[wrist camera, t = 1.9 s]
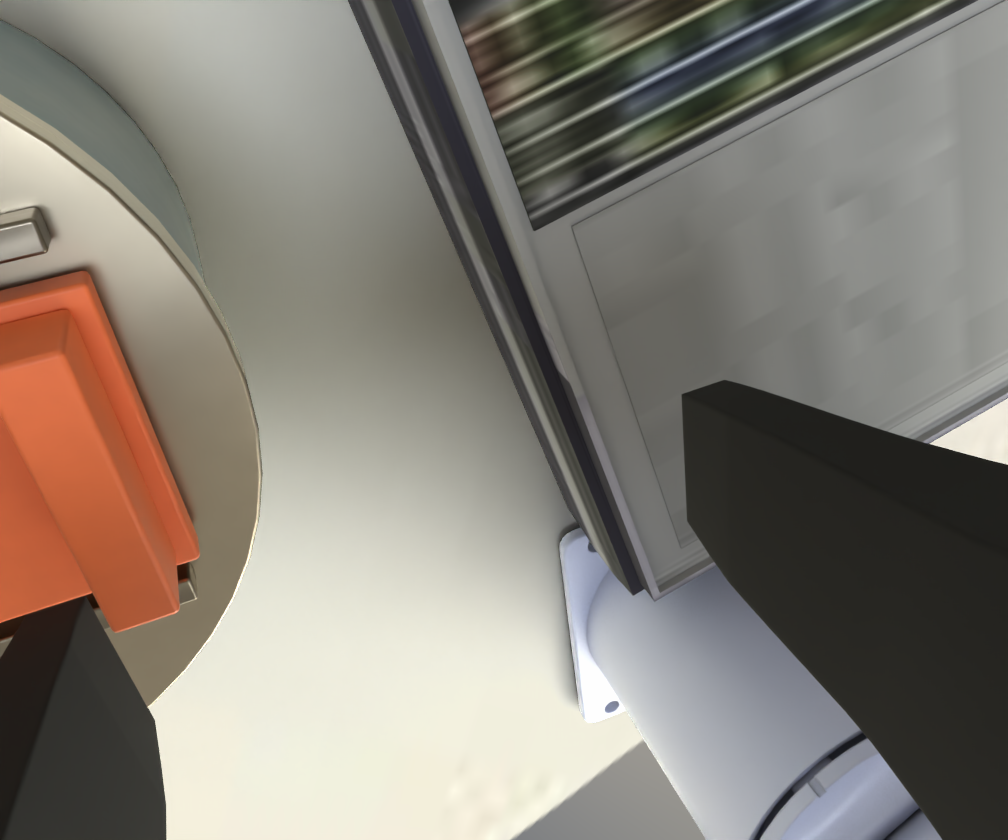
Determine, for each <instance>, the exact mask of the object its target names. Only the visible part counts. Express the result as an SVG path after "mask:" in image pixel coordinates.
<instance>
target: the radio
mask: <svg viewBox="0 0 1008 840" xmlns="http://www.w3.org/2000/svg"><path fill="white" fill-rule="evenodd" d="M348 2H349V4H350V6H351V9H352V11H353V13H354V16H355V18H356V20H357V22H358V25H359V27H360V29H361V32H362V34H363V36H364V39H365V41H366V43H367V46H368V48H369V50H370V52H371V55H372V57H373V59H374V62H375V64H376V66H377V69H378V71H379V73H380V76H381V78H382V80H383V82H384V85H385V87H386V89H387V92H388V94H389V96H390V99H391V101H392V103H393V105H394V108H395V110H396V112H397V115H398V117H399V119H400V122H401V124H402V126H403V129H404V131H405V133H406V135H407V138H408V140H409V142H410V145H411V147H412V149H413V152H414V154H415V156H416V159H417V161H418V163H419V165H420V168H421V170H422V172H423V175H424V177H425V179H426V182H427V184H428V186H429V188H430V191H431V193H432V195H433V198H434V200H435V202H436V205H437V207H438V209H439V212H440V214H441V216H442V218H443V221H444V223H445V225H446V228H447V230H448V232H449V235H450V237H451V239H452V242H453V244H454V246H455V248H456V251H457V253H458V255H459V258H460V260H461V262H462V265H463V267H464V269H465V272H466V274H467V276H468V278H469V281H470V283H471V285H472V288H473V290H474V292H475V295H476V297H477V299H478V301H479V304H480V306H481V308H482V311H483V313H484V315H485V318H486V320H487V322H488V325H489V327H490V329H491V331H492V334H493V336H494V338H495V341H496V343H497V345H498V348H499V350H500V352H501V355H502V357H503V359H504V361H505V364H506V366H507V368H508V371H509V373H510V375H511V378H512V380H513V382H514V385H515V387H516V389H517V391H518V394H519V396H520V398H521V401H522V403H523V405H524V408H525V410H526V412H527V414H528V417H529V419H530V421H531V424H532V426H533V428H534V431H535V433H536V435H537V438H538V440H539V442H540V444H541V447H542V449H543V451H544V454H545V456H546V458H547V461H548V463H549V465H550V468H551V470H552V472H553V474H554V477H555V479H556V481H557V484H558V486H559V488H560V491H561V493H562V495H563V498H564V500H565V502H566V504H567V507H568V508H569V510H570V512H571V513H572V515H573V516H574V518H575V519H576V521H577V522H578V524H579V525H580V527H581V529H582V530H583V532H584V533H585V535H586V536H587V538H588V539H589V541H590V542H591V544H592V545H593V547H594V548H595V550H596V551H597V552H598V554H599V555H600V556H601V558H602V559H603V560H604V562H605V563H606V565H607V566H608V567H609V569H610V570H611V571H612V573H613V574H614V575H615V576H616V578H617V579H618V580H619V581H620V582H621V583H622V584H623V585H624V586H625V588H626V589H627V590H628V591H629V592H630V593H631V594H632V595H633V596H634V595H635V594H637V593H639V592H641V591H642V590H644V589H645V590H646V591H647V593H648V594H649V595H650V597H651V598H652V599H653V601H654V602H655V601H657V600H659V599H660V598H662V597H664V596H666V595H667V594H669V593H671V592H673V591H674V590H676V589H678V588H680V587H681V586H683V585H685V584H686V583H688V582H690V581H692V580H693V579H695V578H697V577H699V576H700V575H702V574H704V573H706V572H707V571H709V570H711V569H712V568H714V567H716V566H717V565H716V564H715V562H714V561H713V559H712V558H711V557H710V555H709V554H708V552H707V551H706V549H705V548H704V546H703V545H702V543H701V542H700V540H699V538H698V537H697V535H696V534H695V532H694V531H693V529H692V528H691V526H690V525H689V523H688V522H687V510H686V487H685V464H684V441H683V418H682V395H681V394H684V393H686V392H689V391H692V390H695V389H698V388H701V387H704V386H707V385H710V384H713V383H716V382H719V381H722V380H728V381H732V382H736V383H739V384H743V385H746V386H750V387H753V388H756V389H760V390H763V391H766V392H769V393H772V394H775V395H778V396H781V397H784V398H787V399H790V400H793V401H796V402H799V403H802V404H805V405H808V406H811V407H814V408H817V409H820V410H823V411H826V412H829V413H832V414H835V415H838V416H841V417H844V418H847V419H850V420H853V421H856V422H859V423H863V424H866V425H869V426H872V427H875V428H878V429H881V430H884V431H888V432H891V433H894V434H897V435H900V436H904V437H907V438H910V439H914V440H917V441H920V442H924V443H927V444H929V443H931V442H933V441H934V440H936V439H938V438H940V437H941V436H943V435H945V434H946V433H948V432H950V431H952V430H953V429H955V428H957V427H959V426H960V425H962V424H964V423H966V422H967V421H969V420H971V419H972V418H974V417H976V416H978V415H979V414H981V413H983V412H985V411H986V410H988V409H990V408H992V407H993V406H995V405H997V404H998V403H1000V402H1002V401H1004V400H1005V399H1007V398H1008V0H348Z"/></svg>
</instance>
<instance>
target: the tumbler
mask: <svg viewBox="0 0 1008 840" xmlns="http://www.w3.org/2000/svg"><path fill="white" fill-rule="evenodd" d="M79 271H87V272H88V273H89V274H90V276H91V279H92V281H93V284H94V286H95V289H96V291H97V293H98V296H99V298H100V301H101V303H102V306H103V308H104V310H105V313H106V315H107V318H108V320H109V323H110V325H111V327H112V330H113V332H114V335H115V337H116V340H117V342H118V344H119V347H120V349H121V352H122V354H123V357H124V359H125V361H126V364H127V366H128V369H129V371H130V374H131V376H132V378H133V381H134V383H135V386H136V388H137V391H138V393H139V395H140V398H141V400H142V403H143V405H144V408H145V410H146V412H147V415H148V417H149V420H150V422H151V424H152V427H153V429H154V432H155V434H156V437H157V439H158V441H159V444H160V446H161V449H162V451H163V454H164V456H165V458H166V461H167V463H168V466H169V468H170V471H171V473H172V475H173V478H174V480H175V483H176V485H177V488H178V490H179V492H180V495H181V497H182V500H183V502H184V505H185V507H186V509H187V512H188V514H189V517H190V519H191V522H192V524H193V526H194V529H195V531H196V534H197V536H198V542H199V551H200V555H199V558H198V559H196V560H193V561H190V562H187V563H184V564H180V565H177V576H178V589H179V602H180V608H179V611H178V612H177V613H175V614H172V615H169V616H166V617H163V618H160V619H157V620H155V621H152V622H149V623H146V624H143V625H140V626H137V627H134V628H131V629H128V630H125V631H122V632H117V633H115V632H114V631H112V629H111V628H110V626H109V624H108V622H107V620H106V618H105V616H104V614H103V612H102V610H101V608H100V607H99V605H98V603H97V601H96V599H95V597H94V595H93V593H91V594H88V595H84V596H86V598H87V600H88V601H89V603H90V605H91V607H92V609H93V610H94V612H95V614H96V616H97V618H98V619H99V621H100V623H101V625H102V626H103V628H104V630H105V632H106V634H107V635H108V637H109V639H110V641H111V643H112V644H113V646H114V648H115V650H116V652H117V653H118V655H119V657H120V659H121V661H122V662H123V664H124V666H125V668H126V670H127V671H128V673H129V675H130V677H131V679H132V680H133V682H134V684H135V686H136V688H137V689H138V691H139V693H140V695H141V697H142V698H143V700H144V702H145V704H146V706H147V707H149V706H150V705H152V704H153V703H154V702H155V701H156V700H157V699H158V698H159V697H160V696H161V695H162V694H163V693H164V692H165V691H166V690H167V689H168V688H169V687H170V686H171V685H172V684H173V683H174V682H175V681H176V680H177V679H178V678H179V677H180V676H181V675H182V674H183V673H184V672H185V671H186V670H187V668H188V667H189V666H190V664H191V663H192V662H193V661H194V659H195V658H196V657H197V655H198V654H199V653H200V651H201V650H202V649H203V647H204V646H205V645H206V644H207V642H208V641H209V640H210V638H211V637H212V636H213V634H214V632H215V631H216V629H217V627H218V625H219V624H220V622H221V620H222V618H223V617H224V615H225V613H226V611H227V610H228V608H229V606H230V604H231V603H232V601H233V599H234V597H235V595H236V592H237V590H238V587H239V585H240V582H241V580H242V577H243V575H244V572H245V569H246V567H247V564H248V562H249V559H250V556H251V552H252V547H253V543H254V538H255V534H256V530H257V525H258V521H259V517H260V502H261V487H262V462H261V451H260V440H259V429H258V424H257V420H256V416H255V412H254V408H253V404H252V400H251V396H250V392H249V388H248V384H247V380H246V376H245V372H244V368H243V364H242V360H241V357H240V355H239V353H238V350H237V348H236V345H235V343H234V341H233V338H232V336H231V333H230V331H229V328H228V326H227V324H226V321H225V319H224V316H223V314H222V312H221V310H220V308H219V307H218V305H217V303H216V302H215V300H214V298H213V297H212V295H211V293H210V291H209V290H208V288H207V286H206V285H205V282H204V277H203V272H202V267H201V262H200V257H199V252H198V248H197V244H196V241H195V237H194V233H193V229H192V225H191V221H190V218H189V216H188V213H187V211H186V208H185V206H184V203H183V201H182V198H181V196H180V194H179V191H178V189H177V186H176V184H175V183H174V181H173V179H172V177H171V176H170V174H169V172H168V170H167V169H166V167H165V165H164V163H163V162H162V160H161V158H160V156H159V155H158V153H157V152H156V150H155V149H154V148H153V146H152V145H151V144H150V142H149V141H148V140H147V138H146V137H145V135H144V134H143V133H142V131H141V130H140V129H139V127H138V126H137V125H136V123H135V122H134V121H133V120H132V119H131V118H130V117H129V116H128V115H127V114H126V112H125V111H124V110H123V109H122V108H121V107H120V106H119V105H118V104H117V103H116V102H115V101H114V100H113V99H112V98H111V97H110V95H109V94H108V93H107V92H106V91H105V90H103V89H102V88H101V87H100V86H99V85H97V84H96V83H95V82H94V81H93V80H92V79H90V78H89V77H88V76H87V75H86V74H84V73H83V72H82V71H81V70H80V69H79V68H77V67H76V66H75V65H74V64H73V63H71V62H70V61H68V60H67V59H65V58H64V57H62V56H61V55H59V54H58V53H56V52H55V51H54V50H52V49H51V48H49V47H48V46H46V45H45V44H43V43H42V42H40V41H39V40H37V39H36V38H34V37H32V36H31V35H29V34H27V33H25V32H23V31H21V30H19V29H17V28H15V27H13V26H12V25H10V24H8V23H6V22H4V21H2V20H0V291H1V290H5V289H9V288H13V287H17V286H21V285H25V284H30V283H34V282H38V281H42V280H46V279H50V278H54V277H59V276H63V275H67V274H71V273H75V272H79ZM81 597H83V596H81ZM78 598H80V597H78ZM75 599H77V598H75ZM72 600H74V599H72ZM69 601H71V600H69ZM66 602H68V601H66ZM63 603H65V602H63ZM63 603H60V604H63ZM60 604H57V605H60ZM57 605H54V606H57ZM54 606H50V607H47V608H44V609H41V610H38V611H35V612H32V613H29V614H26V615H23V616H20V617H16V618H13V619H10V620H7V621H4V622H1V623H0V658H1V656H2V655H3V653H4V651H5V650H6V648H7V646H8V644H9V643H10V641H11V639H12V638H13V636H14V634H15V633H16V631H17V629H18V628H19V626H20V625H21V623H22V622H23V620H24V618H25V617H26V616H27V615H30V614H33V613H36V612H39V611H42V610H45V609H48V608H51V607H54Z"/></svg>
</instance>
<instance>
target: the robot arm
mask: <svg viewBox="0 0 1008 840" xmlns="http://www.w3.org/2000/svg"><path fill="white" fill-rule="evenodd" d="M681 395H682V418H683V441H684V464H685V487H686V510H687V522H688V523H689V525H690V526H691V528H692V529H693V531H694V532H695V534H696V535H697V537H698V538H699V540H700V542H701V543H702V545H703V546H704V548H705V549H706V551H707V552H708V554H709V555H710V557H711V558H712V559H713V561H714V562H715V564H716V565H717V566H716V567H714V568H712V569H711V570H709V571H707V572H706V573H704V574H702V575H700V576H699V577H697V578H695V579H693V580H692V581H690V582H688V583H686V584H685V585H683V586H681V587H680V588H678V589H676V590H674V591H673V592H671V593H669V594H667V595H666V596H664V597H662V598H660V599H659V600H657V601H655V602H654V601H653V599H652V598H651V597H650V595H649V594H648V593H647V591H646V590H645V589H644V590H642V591H641V592H639V593H637V594H635V595H634V596H633V595H632V594H631V593H630V592H629V591H628V590H627V589H626V588H625V586H624V585H623V584H622V583H621V582H620V581H619V580H618V579H617V578H616V576H615V575H614V574H613V573H612V571H611V570H610V569H609V567H608V566H607V565H606V563H605V562H604V560H603V559H602V558H601V556H600V555H599V554H598V552H597V551H596V550H595V548H594V547H593V545H592V544H589V542H590V541H589V539H588V538H587V536H586V535H585V533H584V532H583V530H582V529H581V528H578V529H575V530H573V531H571V532H569V533H567V534H566V535H565V536H564V537H563V538H562V540H561V542H560V547H559V550H560V558H561V566H562V574H563V582H564V590H565V598H566V606H567V614H568V622H569V630H570V638H571V646H572V654H573V662H574V670H575V678H576V685H577V693H578V701H579V709H580V712H581V714H582V716H583V718H584V720H585V721H587V722H591V723H595V722H599V721H601V720H604V719H606V718H609V717H611V716H614V715H616V714H618V713H621V712H623V711H626V712H627V713H628V715H629V716H630V718H631V720H632V721H633V723H634V725H635V726H636V728H637V729H638V731H639V733H640V734H641V736H642V737H643V739H644V741H645V742H646V744H647V745H648V747H649V749H650V750H651V752H652V753H653V755H654V756H655V758H656V760H657V761H658V763H659V765H660V766H661V768H662V770H663V771H664V773H665V774H666V776H667V777H668V779H669V781H670V782H671V784H672V786H673V787H674V789H675V790H676V792H677V793H678V795H679V797H680V798H681V800H682V802H683V803H684V805H685V807H686V808H687V810H688V811H689V813H690V814H691V816H692V818H693V819H694V821H695V822H696V824H697V826H698V827H699V829H700V831H701V832H702V834H703V835H704V837H705V839H706V840H1008V465H1006V464H1002V463H998V462H993V461H989V460H986V459H982V458H978V457H975V456H971V455H967V454H964V453H960V452H956V451H953V450H949V449H945V448H942V447H938V446H934V445H931V444H927V443H924V442H920V441H917V440H914V439H910V438H907V437H904V436H900V435H897V434H894V433H891V432H888V431H884V430H881V429H878V428H875V427H872V426H869V425H866V424H863V423H859V422H856V421H853V420H850V419H847V418H844V417H841V416H838V415H835V414H832V413H829V412H826V411H823V410H820V409H817V408H814V407H811V406H808V405H805V404H802V403H799V402H796V401H793V400H790V399H787V398H784V397H781V396H778V395H775V394H772V393H769V392H766V391H763V390H760V389H756V388H753V387H750V386H746V385H743V384H739V383H736V382H732V381H728V380H722V381H719V382H716V383H713V384H710V385H707V386H704V387H701V388H698V389H695V390H692V391H689V392H686V393H684V394H681ZM0 840H166V802H165V794H164V785H163V777H162V769H161V761H160V754H159V747H158V740H157V733H156V726H155V720H154V718H153V716H152V715H151V713H150V711H149V709H148V707H147V706H146V704H145V702H144V700H143V698H142V697H141V695H140V693H139V691H138V689H137V688H136V686H135V684H134V682H133V680H132V679H131V677H130V675H129V673H128V671H127V670H126V668H125V666H124V664H123V662H122V661H121V659H120V657H119V655H118V653H117V652H116V650H115V648H114V646H113V644H112V643H111V641H110V639H109V637H108V635H107V634H106V632H105V630H104V628H103V626H102V625H101V623H100V621H99V619H98V618H97V616H96V614H95V612H94V610H93V609H92V607H91V605H90V603H89V601H88V600H87V598H86V596H83V597H80V598H77V599H74V600H71V601H68V602H65V603H63V604H60V605H57V606H54V607H51V608H48V609H45V610H42V611H39V612H36V613H33V614H30V615H27V616H26V617H25V618H24V620H23V622H22V623H21V625H20V626H19V628H18V629H17V631H16V633H15V634H14V636H13V638H12V639H11V641H10V643H9V644H8V646H7V648H6V650H5V651H4V653H3V655H2V656H1V658H0Z"/></svg>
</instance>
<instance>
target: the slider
mask: <svg viewBox="0 0 1008 840" xmlns="http://www.w3.org/2000/svg"><path fill="white" fill-rule="evenodd" d="M199 555H200V551H199V542H198V536H197V534H196V531H195V529H194V526H193V524H192V522H191V519H190V517H189V514H188V512H187V509H186V507H185V505H184V502H183V500H182V497H181V495H180V492H179V490H178V488H177V485H176V483H175V480H174V478H173V475H172V473H171V471H170V468H169V466H168V463H167V461H166V458H165V456H164V454H163V451H162V449H161V446H160V444H159V441H158V439H157V437H156V434H155V432H154V429H153V427H152V424H151V422H150V420H149V417H148V415H147V412H146V410H145V408H144V405H143V403H142V400H141V398H140V395H139V393H138V391H137V388H136V386H135V383H134V381H133V378H132V376H131V374H130V371H129V369H128V366H127V364H126V361H125V359H124V357H123V354H122V352H121V349H120V347H119V344H118V342H117V340H116V337H115V335H114V332H113V330H112V327H111V325H110V323H109V320H108V318H107V315H106V313H105V310H104V308H103V306H102V303H101V301H100V298H99V296H98V293H97V291H96V289H95V286H94V284H93V281H92V279H91V276H90V274H89V273H88V272H87V271H79V272H75V273H71V274H67V275H63V276H59V277H54V278H50V279H46V280H42V281H38V282H34V283H30V284H25V285H21V286H17V287H13V288H9V289H5V290H1V291H0V623H1V622H4V621H7V620H10V619H13V618H16V617H20V616H23V615H26V614H29V613H32V612H35V611H38V610H41V609H44V608H47V607H50V606H54V605H57V604H60V603H63V602H66V601H69V600H72V599H75V598H78V597H81V596H84V595H88V594H91V593H93V595H94V597H95V599H96V601H97V603H98V605H99V607H100V608H101V610H102V612H103V614H104V616H105V618H106V620H107V622H108V624H109V626H110V628H111V629H112V631H114V632H115V633H117V632H122V631H125V630H128V629H131V628H134V627H137V626H140V625H143V624H146V623H149V622H152V621H155V620H157V619H160V618H163V617H166V616H169V615H172V614H175V613H177V612H178V611H179V608H180V602H179V589H178V576H177V565H180V564H184V563H187V562H190V561H193V560H196V559H198V558H199Z"/></svg>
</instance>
